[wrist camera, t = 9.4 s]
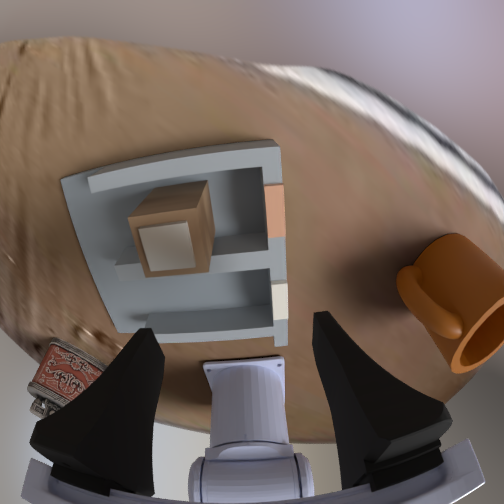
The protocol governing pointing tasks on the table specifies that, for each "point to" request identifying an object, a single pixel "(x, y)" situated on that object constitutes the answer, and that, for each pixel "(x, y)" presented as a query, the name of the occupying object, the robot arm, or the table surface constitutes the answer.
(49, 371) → the lighter
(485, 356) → the mug
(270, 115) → the table surface
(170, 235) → the plug
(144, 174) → the socket board
